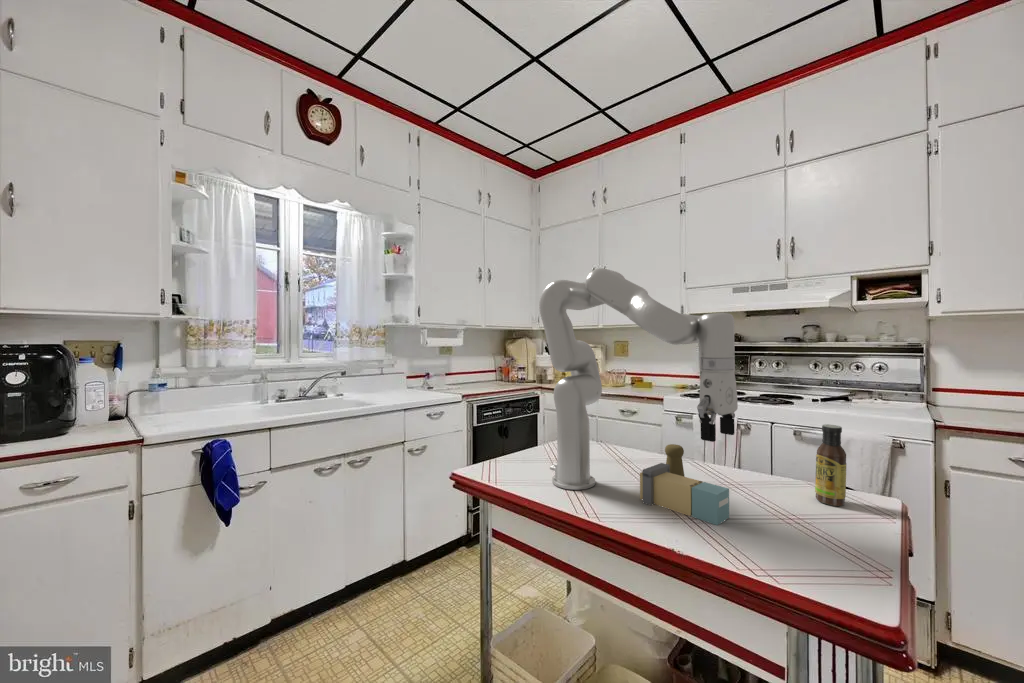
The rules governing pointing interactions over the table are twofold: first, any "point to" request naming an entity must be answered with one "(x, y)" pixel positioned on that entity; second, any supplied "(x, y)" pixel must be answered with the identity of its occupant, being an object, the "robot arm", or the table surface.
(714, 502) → the teal box
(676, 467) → the brown knobbed peg
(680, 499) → the tan oblong box
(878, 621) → the table surface
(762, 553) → the table surface
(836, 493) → the sauce bottle
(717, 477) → the table surface
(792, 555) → the table surface
